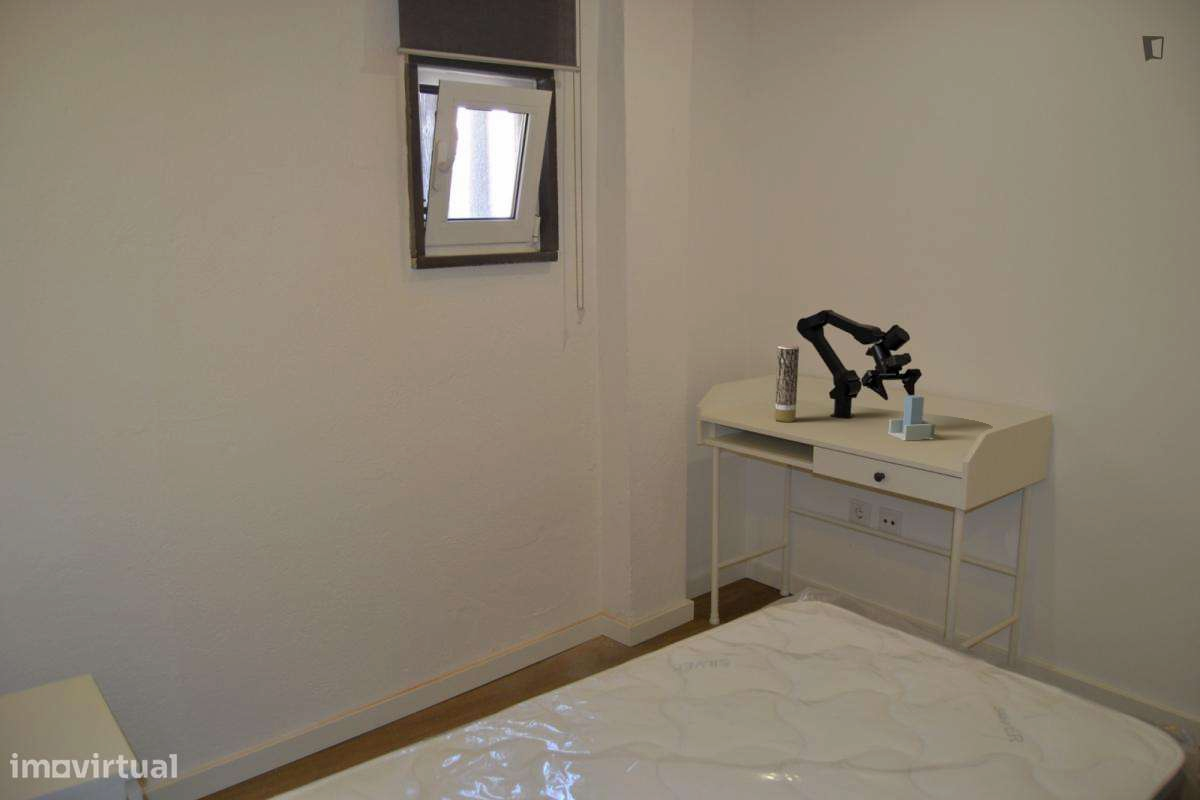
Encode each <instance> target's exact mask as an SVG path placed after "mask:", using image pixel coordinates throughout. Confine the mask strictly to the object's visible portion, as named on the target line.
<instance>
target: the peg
mask: <svg viewBox="0 0 1200 800" xmlns="http://www.w3.org/2000/svg"><path fill="white" fill-rule="evenodd" d="M924 402H925V397H924V396H922V395H918V394H915V395H908V394H907V395H904V404H903V416H902V417H903V418H902V419H903V428H902V434H904V425H916V424H922V420H923V417H924V404H925V403H924Z"/></svg>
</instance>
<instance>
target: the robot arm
mask: <svg viewBox="0 0 1200 800" xmlns="http://www.w3.org/2000/svg"><path fill="white" fill-rule="evenodd" d="M827 325H831V326H832V327H835V328H836V329H838V330H840V331H843V332H845V333H848V334H849V335H851V336H852V338H854V340H856V341H857V342H858V343H859V344H861V345H863V346H867V345H869V346H870V345H872V346H871V347H868V348H867V350H866V351H865V356H869V357H872V358H873V361H874V363H875V366H874V369H867V370H866V371H865V373H864V375H863V376H862V377H861V378H860V377H859V375H858V374H857V371H856V370H855V369H850V370H849V369H847V368H846V367H845V365H844V363H843V362H842V361H841V359H840V357H839V356H838V355H837V353H836V351H835V350H834V349H833V347H832V346H831V344H830V343H829V341H828V339H827V338H826V336H825V329H824V327H826V326H827ZM796 331H797V332H798V333H799V335H800V336H802V338H804V339H805V340H806V341H808V342H809V343H811V344H812V346H813V347H814V349H815V350H816V352H817V353H818V356H820V358H821V360H822V361H823V363H824V364H825V366H826V367H827V369H828V370H829V372H830V373H831V375H832V378H833V379H832V380H833V385H834V388H832V389H831V390H830V391H829V392H828V394H829V398H830V399H832V400H834V404H833V413H831V414H830V417H836V418H845V419H850V418H852V417H854V415H855V413H852V406H853V405H852V404H853V403H852V401H853V399H857V397H858V395H859V393H860V392H861V390H862V386H863V387H866V388H867V389H869V390H871V391H873V392H875V393H876V394H877V395H878V396H880V398H882V399H884V400H885V401H888V400H889V395H888V392H887V391H886V388H885V385H884V383H883V381H901V383H902V384H903V385H902V386H903V388H904V390H905V391H906V393H907V395H916V394H915V388H916V387H915V384H916V383H918V381H919V379H920V378H921V377H922V376H923V373H922V371H921V369H920V368H907V369H906V371H904V372H903V373H900V372H902V370H903V367H904V366H907V365H908V364H910V363H911V362H912V356H911V355H910V353H909V352H904V353H901V354H892V351H893V352H897V351H898V350H900V349H901V348H902V347H903V346H904V345H905V344H907V343H908V342H909V341H910V339H911V335H910V334H909V332H908V331H906V330H905V329H904V328H903V327H900V326H899V324H892V326H891V327H890V328H889V329H888V330H887V331H883V330H882V329H881V328H880V327H879V326H876V325H871V324H865V323H860V322H857V321H856V320H854V319H851V318H848V317H846V316H844V315H842V314H840V313H837V312H835V310H833V309H824V310H823V309H822V310H821V311H819V312H817V313H815V314H813V315H810V316H807V317H802V318H800V319H799V320H797V323H796Z"/></svg>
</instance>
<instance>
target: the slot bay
mask: <svg viewBox="0 0 1200 800" xmlns="http://www.w3.org/2000/svg"><path fill="white" fill-rule="evenodd" d="M902 428H903V418H895V419H889V420H888V431H887V434H888V435H889V434H890V436H892V437H894V436H895V437H894V438H897V437H898V438H897V439H899V438H900V439H899V440H902V441H904V440H905V441H906V440H910V441H921V439H929V440H931V439H930V438H935V429H936V424H934V423H932V422H929V421H926V420H923V419H922V424H916V425H904V434H902ZM905 441H904V442H905Z"/></svg>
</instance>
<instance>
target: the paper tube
mask: <svg viewBox="0 0 1200 800" xmlns="http://www.w3.org/2000/svg"><path fill="white" fill-rule="evenodd" d="M799 354H800V346H799V345H794V344H781V345H780V344H778V345H777V356H776V357H777V359H776V360H777V361H776V381H775V401H774V402H775V405H774V420H775V421H777V420H778V422H780V421H782V423H792V422H794V421H795V420H796V414H797V397H798V396H797V394H798V393H797V391H798V390H797V389H798V376H799V375H798V373H799V356H800V355H799Z"/></svg>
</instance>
